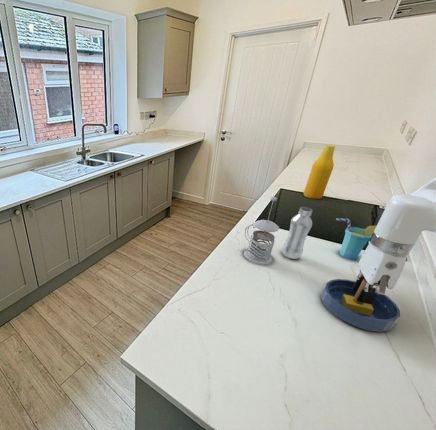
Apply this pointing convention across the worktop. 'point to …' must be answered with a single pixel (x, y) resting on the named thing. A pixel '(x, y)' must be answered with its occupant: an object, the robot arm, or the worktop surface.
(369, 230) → the cup
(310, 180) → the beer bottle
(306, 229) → the silver metal bottle
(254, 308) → the worktop surface
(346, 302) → the rubber stamp
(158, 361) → the worktop surface
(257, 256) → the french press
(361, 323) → the bowl
